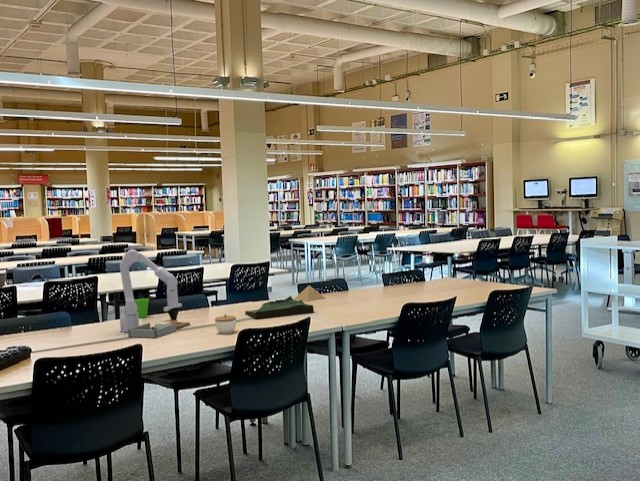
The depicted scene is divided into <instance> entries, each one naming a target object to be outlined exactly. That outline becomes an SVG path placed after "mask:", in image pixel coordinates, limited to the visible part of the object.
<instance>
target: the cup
mask: <svg viewBox="0 0 640 481" xmlns="http://www.w3.org/2000/svg"><path fill="white" fill-rule="evenodd" d="M149 301H150V298H138V299H136V298H135V299H134V302H135V303H136V305H137V308H138V310H137V313H138V315H139V319H147V317H148V311H149V310H148V309H149Z"/></svg>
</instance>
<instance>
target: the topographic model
mask: <svg viewBox="0 0 640 481" xmlns="http://www.w3.org/2000/svg"><path fill="white" fill-rule="evenodd" d="M293 299H294V298H293V296H292V295H289V296H288V297H286V298H284V299H275V300H270V301H268V302H264V303H262V305H261V306H260V308H258V309H252V310H251V309H250V310H245V312H244V314H245V315H246V316H248V317H249V318H251V319H253V320H255V321H257V320H258V321H259V320H265V319H274V318H282V317H283V318H284V317H292V316H301V315H307V314H314V313H315V310H314V305H313V304H308V303H305V302H304V301H302V300H293Z"/></svg>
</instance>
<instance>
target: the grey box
mask: <svg viewBox="0 0 640 481" xmlns="http://www.w3.org/2000/svg"><path fill="white" fill-rule="evenodd" d="M176 331H177V330H176V329H175V324H171V325H169V326H166V327H163V328H160V329H157V330H151V323H150V322H147V323H145V324H141V325H140V324H139V326H137V327H134V328H131V329H128V332H127V334H128V338H141V339H142V338H144V339H158V338H161V337H164V336H167V335H169V334H172V333H175V332H176Z"/></svg>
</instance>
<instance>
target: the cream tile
mask: <svg viewBox="0 0 640 481" xmlns="http://www.w3.org/2000/svg"><path fill="white" fill-rule="evenodd" d="M169 325H171V322H162V321H160V322H157V323H154V326H155V329H160V328H163V327H166V326H169Z"/></svg>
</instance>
